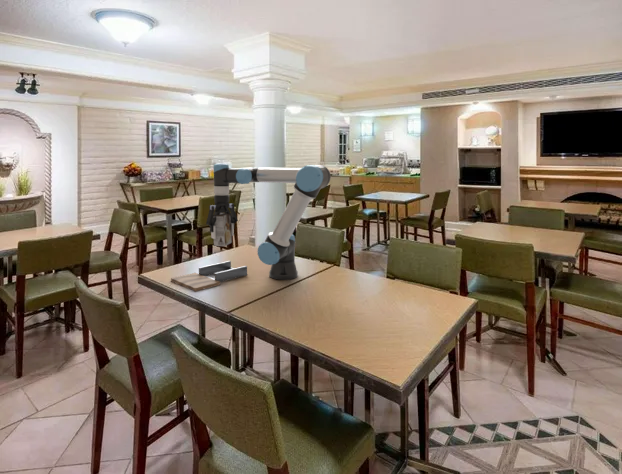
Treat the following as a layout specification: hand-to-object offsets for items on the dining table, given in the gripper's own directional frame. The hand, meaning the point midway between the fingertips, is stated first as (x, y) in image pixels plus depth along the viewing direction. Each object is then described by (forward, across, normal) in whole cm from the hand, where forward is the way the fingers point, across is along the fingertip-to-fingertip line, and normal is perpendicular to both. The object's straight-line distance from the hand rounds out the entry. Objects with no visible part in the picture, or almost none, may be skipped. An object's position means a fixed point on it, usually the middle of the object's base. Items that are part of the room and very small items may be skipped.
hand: (222, 236), depth 215 cm
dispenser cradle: (+21, 0, 0) cm, 21 cm away
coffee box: (+4, 0, 0) cm, 4 cm away
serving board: (+21, +17, 0) cm, 27 cm away
